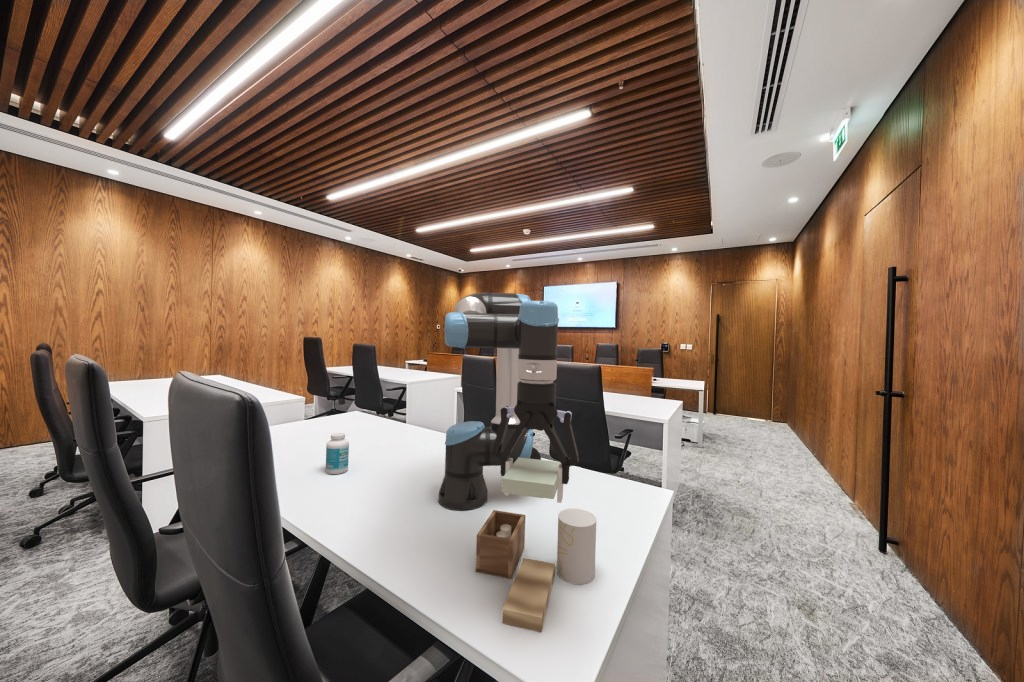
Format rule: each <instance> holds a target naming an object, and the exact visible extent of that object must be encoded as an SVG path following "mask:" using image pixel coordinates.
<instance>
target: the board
mask: <svg viewBox="0 0 1024 682" xmlns="http://www.w3.org/2000/svg"><path fill="white" fill-rule="evenodd" d="M555 576H556V563H555V562H549V561H543V560H537V559H531V558H527V557H523V558H522V560H521V562H520V565H519V567H518V570H517V572H516V575H515V577H514V581H513V582H512V585H511V587H510V590H509V593H508V595H507V598H506V601H505V603H504V605H503V608H502V616H501V617H502V622H501V623H502V624H504V625H509V626H514V627H517V628H521V629H522V628H523V629H525V630H530V631H533V632H538V633H542V631H543V626H544V622H545V620H546V619H545V618H546V614H547V609H548V606H549V601H550V597H551V593H552V588H553V584H554V581H555V580H554V579H555Z"/></svg>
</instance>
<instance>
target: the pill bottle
mask: <svg viewBox="0 0 1024 682" xmlns="http://www.w3.org/2000/svg"><path fill="white" fill-rule="evenodd" d="M325 447H326V448H325V452H326V453H325V472H326V474H328V475H341V474H344V473H345V472H347V471H348V470H349V453H350V451H349V450H350V449H349V448H350V441H348V440H347V439H346V434H345V433H343V432H335V433H331V434H330V440H328V441H327V442H326V446H325ZM340 473H341V474H340Z"/></svg>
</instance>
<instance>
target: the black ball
mask: <svg viewBox="0 0 1024 682" xmlns="http://www.w3.org/2000/svg"><path fill="white" fill-rule="evenodd" d="M530 459H537V460H542V457H541V454H540V452H539V451H538V449H537V448H535V447H534V446H532V452H531V456H530Z"/></svg>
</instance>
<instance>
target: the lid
mask: <svg viewBox="0 0 1024 682" xmlns="http://www.w3.org/2000/svg"><path fill="white" fill-rule="evenodd" d="M560 463H561V462H560V461H554V460H544V459H541V460H537V459H528V458H519V457H518V459H517V460H516V461H515V462H514V464H513V465H512V466H511V468H510V469H509V470H508V471H507V473H506V474H505V475H504V476H502V478H501V493H504V494H505V493H510V494H511V495H512V494H514V495H516V496H517V495H518V496H524V497H532V498H538V499H539V498H540V499H549V500H554V499H555V496H556V495H557V489H558V467H559V464H560Z"/></svg>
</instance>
